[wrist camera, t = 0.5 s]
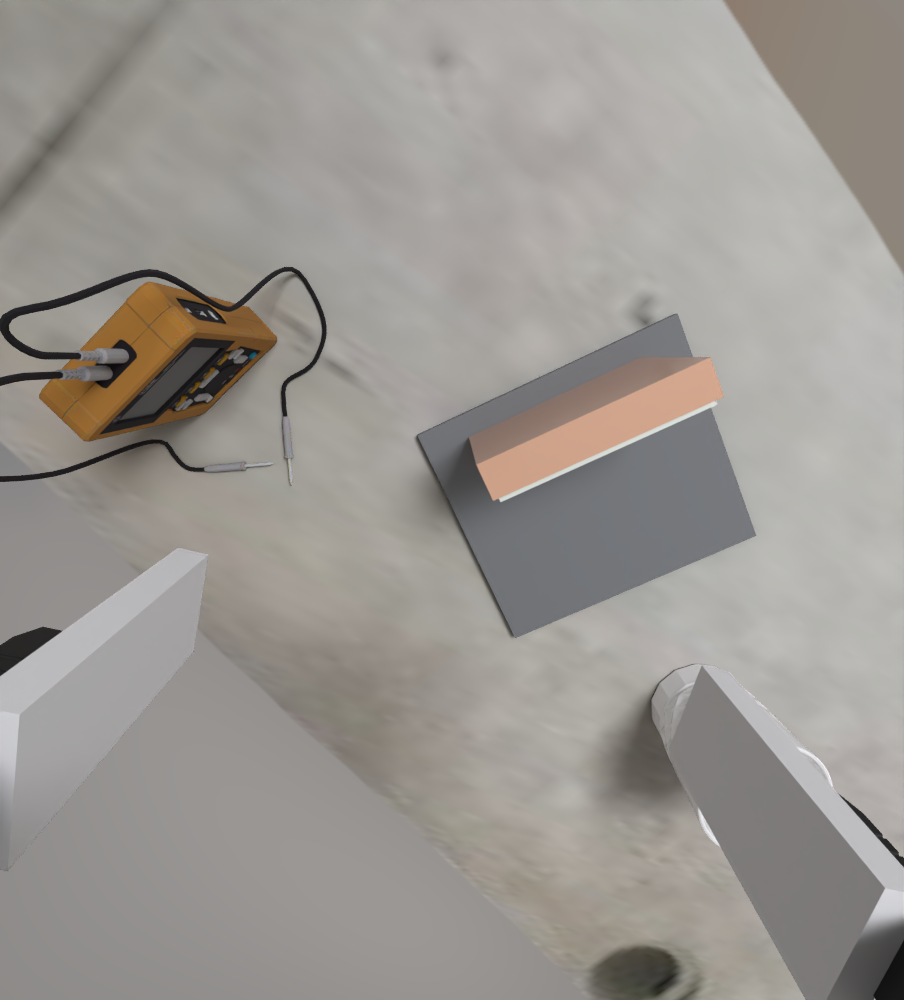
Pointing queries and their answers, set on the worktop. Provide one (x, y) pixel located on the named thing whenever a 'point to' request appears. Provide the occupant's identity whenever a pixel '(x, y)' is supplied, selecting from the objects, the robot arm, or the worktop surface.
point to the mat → (593, 498)
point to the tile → (592, 421)
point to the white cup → (669, 712)
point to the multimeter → (153, 363)
